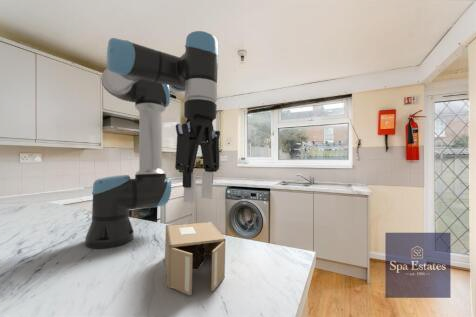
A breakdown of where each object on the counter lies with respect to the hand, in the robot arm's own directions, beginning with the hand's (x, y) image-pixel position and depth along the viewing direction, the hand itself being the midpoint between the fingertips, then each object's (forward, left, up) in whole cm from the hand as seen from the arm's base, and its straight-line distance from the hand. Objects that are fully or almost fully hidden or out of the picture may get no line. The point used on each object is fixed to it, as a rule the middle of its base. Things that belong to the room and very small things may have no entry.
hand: (198, 199), depth 51 cm
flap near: (-2, -4, -20) cm, 21 cm away
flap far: (+4, +4, -20) cm, 21 cm away
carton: (-8, +6, -21) cm, 23 cm away
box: (-10, +7, -21) cm, 24 cm away
